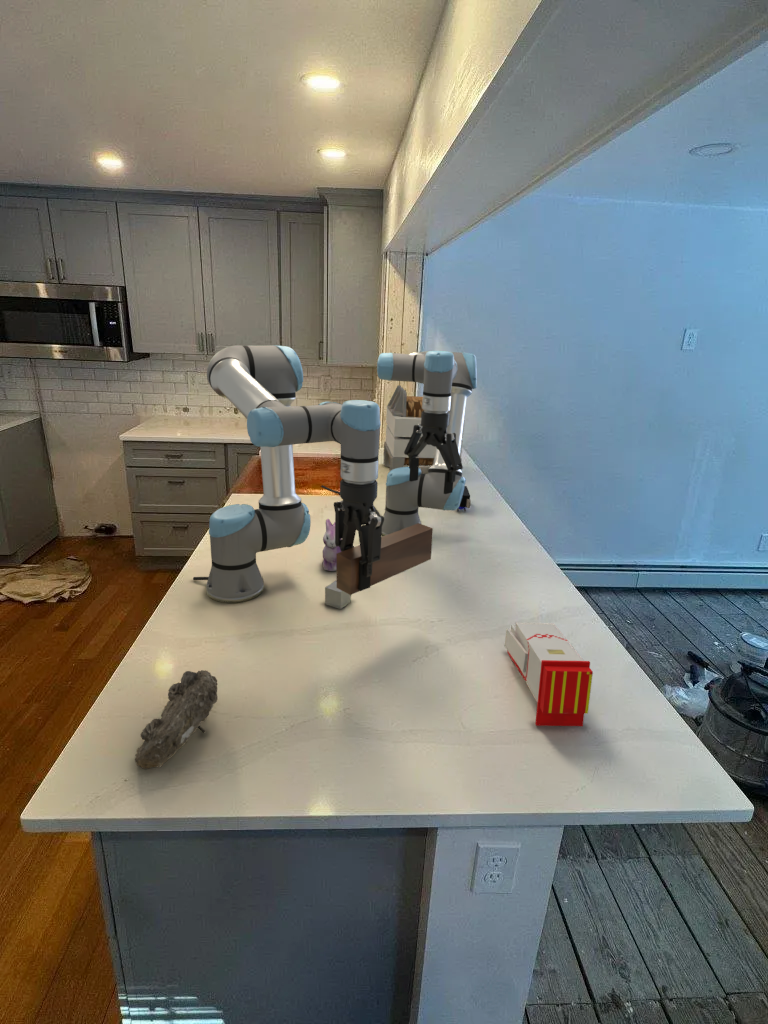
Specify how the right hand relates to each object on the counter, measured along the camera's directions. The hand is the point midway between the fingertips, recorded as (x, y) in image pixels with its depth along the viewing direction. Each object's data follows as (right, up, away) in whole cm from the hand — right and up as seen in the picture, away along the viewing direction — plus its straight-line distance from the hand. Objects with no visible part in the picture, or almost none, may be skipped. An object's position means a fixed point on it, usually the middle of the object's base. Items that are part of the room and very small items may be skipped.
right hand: (430, 486), depth 159 cm
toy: (+20, -44, -37) cm, 61 cm away
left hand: (-19, -23, -38) cm, 48 cm away
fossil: (-50, -47, -55) cm, 88 cm away
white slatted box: (+4, +12, +116) cm, 116 cm away
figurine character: (+18, -5, +70) cm, 73 cm away
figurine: (-28, -24, +14) cm, 39 cm away
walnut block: (-12, -21, -31) cm, 40 cm away
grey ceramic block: (-25, -31, -7) cm, 41 cm away
